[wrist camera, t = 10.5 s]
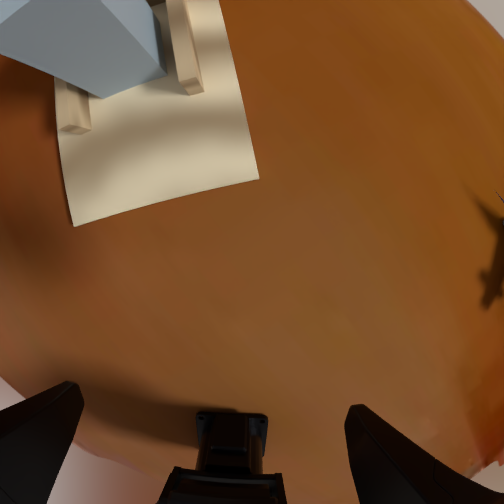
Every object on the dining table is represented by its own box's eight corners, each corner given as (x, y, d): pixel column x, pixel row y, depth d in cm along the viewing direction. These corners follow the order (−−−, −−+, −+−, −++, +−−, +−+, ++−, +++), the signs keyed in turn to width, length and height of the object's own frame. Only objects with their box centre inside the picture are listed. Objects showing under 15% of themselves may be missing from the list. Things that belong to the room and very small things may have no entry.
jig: (259, 178, 19) (260, 178, 15) (79, 225, 20) (50, 234, 16) (205, -50, 14) (199, -75, 10) (62, 5, 15) (42, -10, 11)
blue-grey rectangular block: (167, 75, 17) (62, -37, 4) (103, 99, 17) (-36, 41, 4) (159, 22, 15) (80, -93, 2) (99, 45, 16) (-11, -31, 3)
